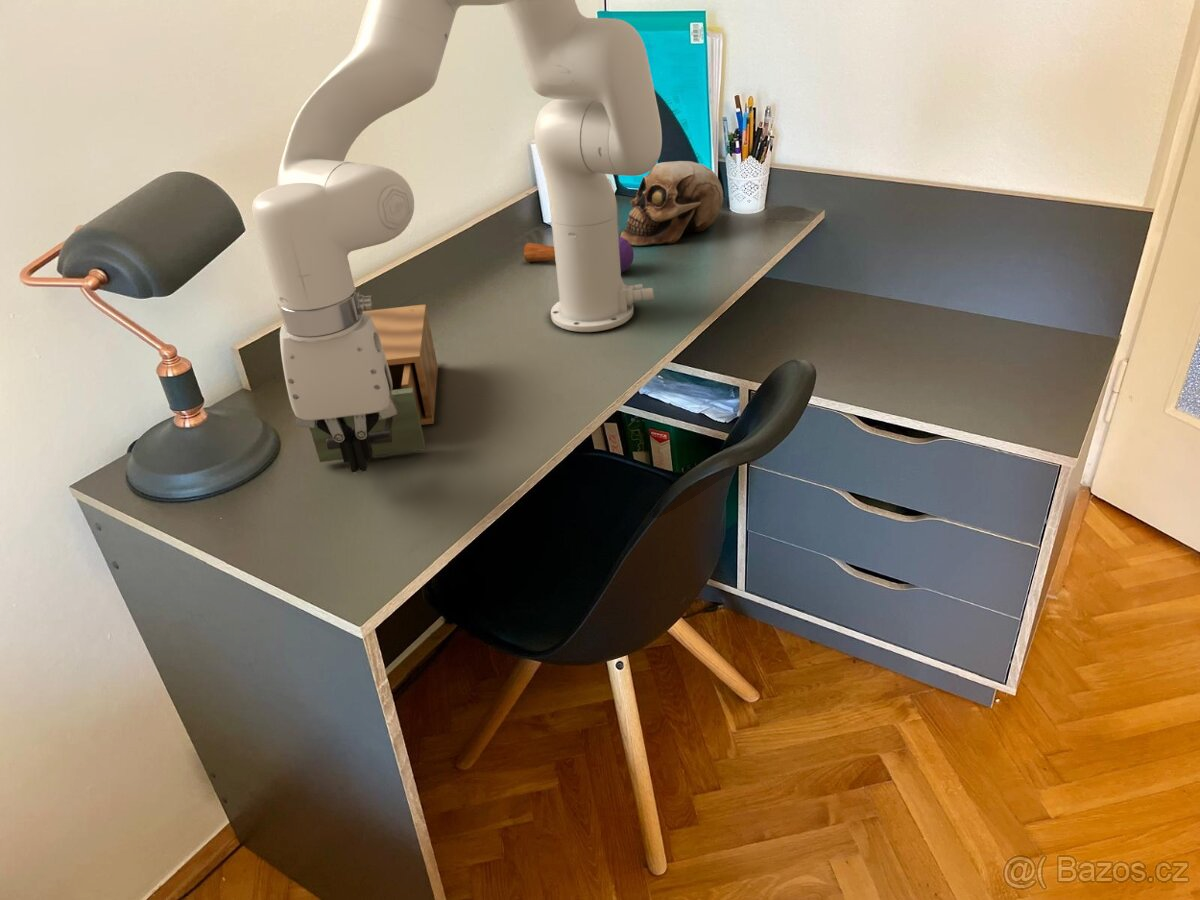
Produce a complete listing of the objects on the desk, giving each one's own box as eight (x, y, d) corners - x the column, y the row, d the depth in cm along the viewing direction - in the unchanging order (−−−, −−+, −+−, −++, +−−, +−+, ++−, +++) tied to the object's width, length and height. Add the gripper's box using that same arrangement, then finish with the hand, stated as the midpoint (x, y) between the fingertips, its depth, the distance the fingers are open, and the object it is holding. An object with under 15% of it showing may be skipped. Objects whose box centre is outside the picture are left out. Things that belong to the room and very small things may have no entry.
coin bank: (612, 242, 162) (613, 166, 156) (654, 221, 175) (657, 150, 169) (692, 255, 155) (697, 176, 149) (729, 232, 169) (735, 159, 162)
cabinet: (433, 423, 114) (419, 356, 108) (325, 436, 113) (305, 369, 107) (437, 366, 127) (425, 304, 121) (340, 378, 126) (324, 315, 121)
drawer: (422, 472, 103) (409, 413, 99) (313, 485, 102) (295, 427, 98) (430, 390, 119) (419, 337, 115) (335, 401, 118) (321, 348, 114)
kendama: (536, 232, 158) (638, 234, 149) (539, 266, 161) (640, 270, 152) (518, 237, 154) (622, 240, 145) (521, 272, 156) (624, 277, 147)
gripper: (398, 289, 93) (429, 439, 103) (252, 306, 92) (297, 455, 102) (393, 319, 87) (426, 475, 97) (236, 337, 86) (286, 493, 96)
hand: (360, 464), depth 99 cm, fingers closed
